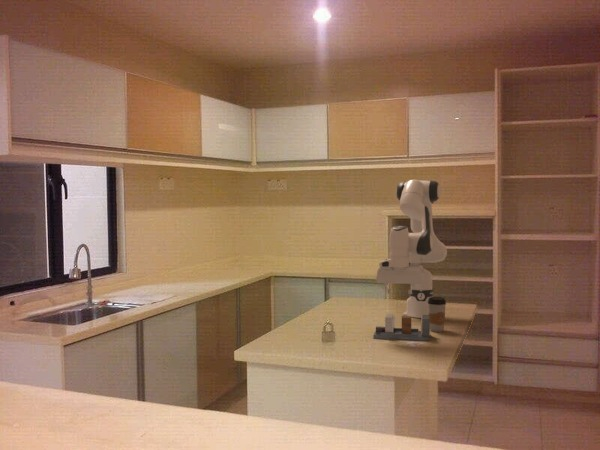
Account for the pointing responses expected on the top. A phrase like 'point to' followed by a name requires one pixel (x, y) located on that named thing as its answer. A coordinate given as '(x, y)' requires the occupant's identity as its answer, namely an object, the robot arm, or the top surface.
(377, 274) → the robot arm
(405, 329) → the block
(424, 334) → the vise
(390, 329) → the jaw
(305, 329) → the top surface
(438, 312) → the coffee cup
